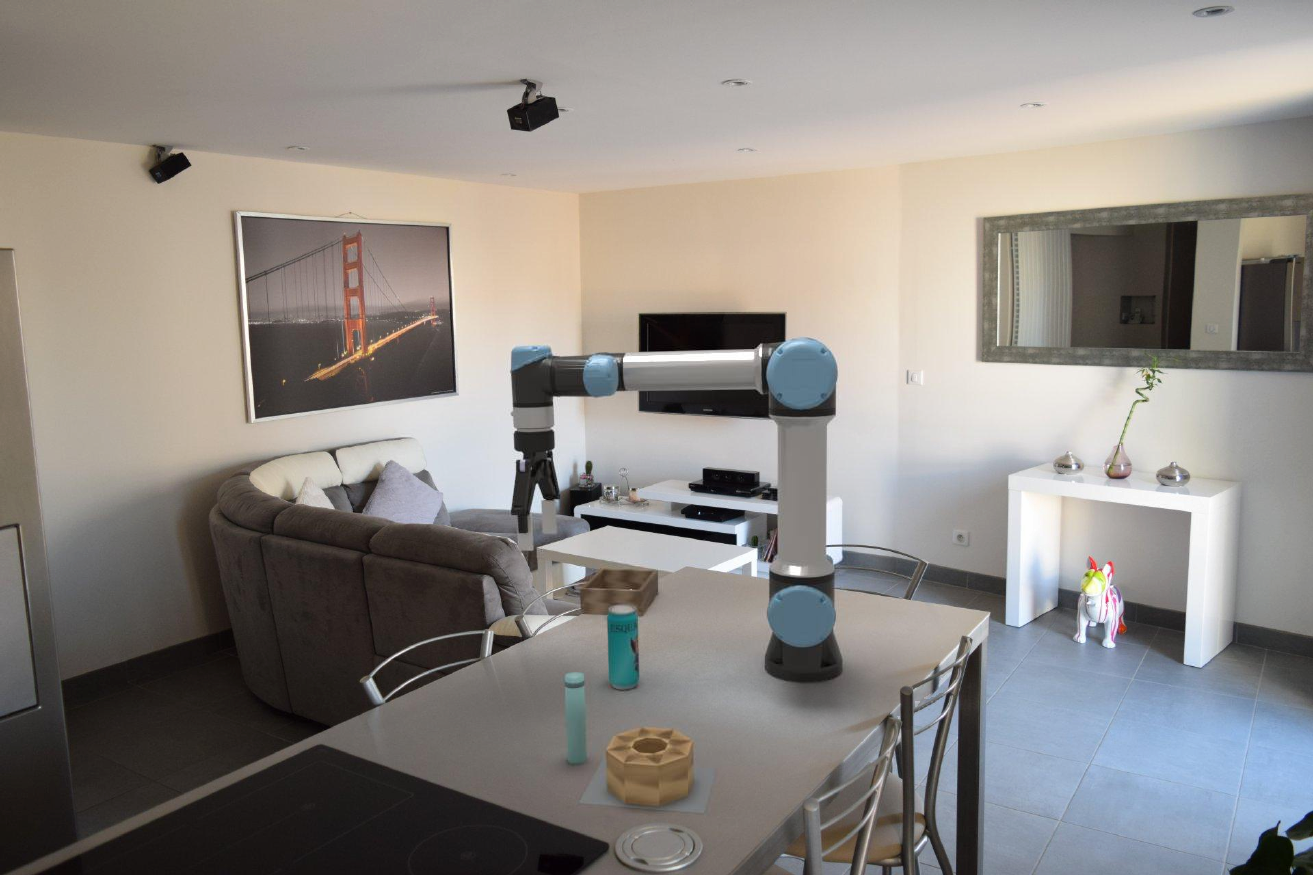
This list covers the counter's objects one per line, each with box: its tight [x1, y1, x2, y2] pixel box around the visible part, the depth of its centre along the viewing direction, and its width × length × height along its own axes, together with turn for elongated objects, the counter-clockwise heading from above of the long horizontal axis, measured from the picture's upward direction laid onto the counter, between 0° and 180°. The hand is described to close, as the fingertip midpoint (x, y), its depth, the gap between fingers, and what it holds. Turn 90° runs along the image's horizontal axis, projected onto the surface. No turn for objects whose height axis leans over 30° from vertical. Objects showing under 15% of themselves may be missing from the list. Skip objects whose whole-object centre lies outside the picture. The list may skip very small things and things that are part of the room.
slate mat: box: [578, 757, 719, 815], centre depth 137 cm, size 18×14×1 cm
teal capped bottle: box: [564, 671, 588, 765], centre depth 145 cm, size 3×3×14 cm
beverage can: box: [606, 605, 640, 691], centre depth 176 cm, size 6×6×15 cm
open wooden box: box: [579, 568, 659, 617], centre depth 229 cm, size 15×19×6 cm
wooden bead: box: [605, 726, 694, 806], centre depth 137 cm, size 12×12×6 cm
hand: (538, 541), depth 175 cm, fingers open, 13 cm apart
